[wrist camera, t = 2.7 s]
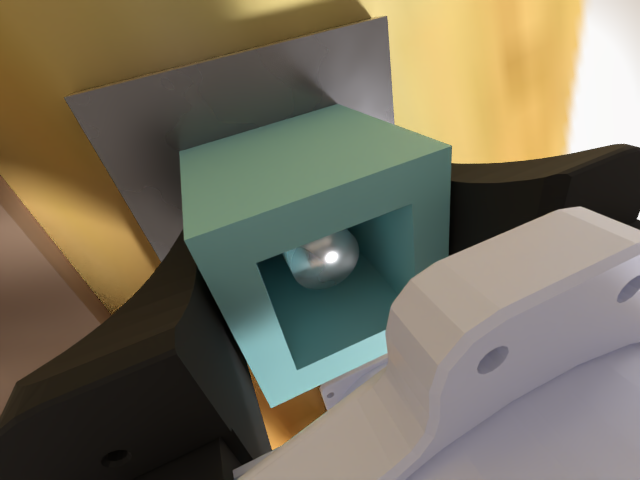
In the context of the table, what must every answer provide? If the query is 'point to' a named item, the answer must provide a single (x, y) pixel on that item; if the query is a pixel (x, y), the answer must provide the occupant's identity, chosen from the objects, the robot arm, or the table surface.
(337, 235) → the stand
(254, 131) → the collar
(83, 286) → the plate
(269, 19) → the table surface
